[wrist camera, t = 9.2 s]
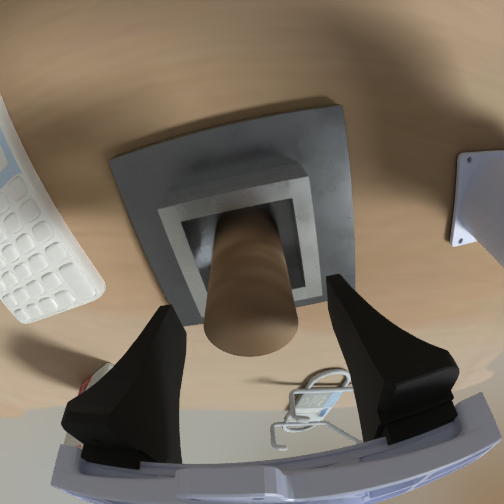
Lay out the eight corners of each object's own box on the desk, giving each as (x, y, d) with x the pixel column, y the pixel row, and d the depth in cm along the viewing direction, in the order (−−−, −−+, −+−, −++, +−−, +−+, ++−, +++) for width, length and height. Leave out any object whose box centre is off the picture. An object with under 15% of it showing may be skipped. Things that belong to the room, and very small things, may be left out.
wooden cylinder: (272, 199, 18) (292, 283, 11) (282, 254, 20) (302, 348, 14) (208, 213, 18) (191, 301, 12) (224, 265, 21) (218, 361, 14)
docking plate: (337, 103, 16) (358, 111, 13) (351, 286, 23) (364, 317, 20) (114, 156, 17) (90, 174, 14) (182, 318, 25) (176, 350, 22)
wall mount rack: (295, 365, 29) (302, 414, 24) (402, 363, 31) (418, 403, 26) (263, 427, 37) (265, 463, 32) (350, 424, 39) (357, 456, 34)
